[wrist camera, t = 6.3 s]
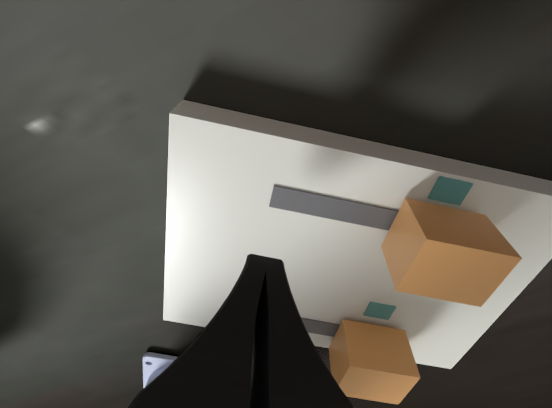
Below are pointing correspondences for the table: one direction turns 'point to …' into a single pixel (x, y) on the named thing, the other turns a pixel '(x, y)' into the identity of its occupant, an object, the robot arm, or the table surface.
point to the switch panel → (330, 225)
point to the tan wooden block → (372, 362)
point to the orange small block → (446, 253)
